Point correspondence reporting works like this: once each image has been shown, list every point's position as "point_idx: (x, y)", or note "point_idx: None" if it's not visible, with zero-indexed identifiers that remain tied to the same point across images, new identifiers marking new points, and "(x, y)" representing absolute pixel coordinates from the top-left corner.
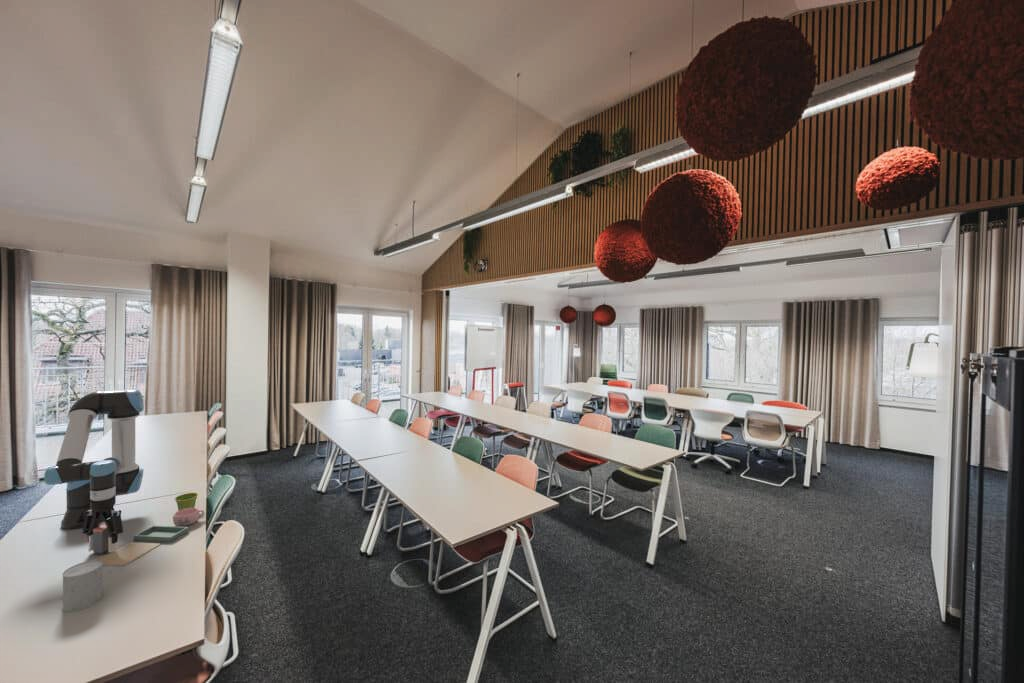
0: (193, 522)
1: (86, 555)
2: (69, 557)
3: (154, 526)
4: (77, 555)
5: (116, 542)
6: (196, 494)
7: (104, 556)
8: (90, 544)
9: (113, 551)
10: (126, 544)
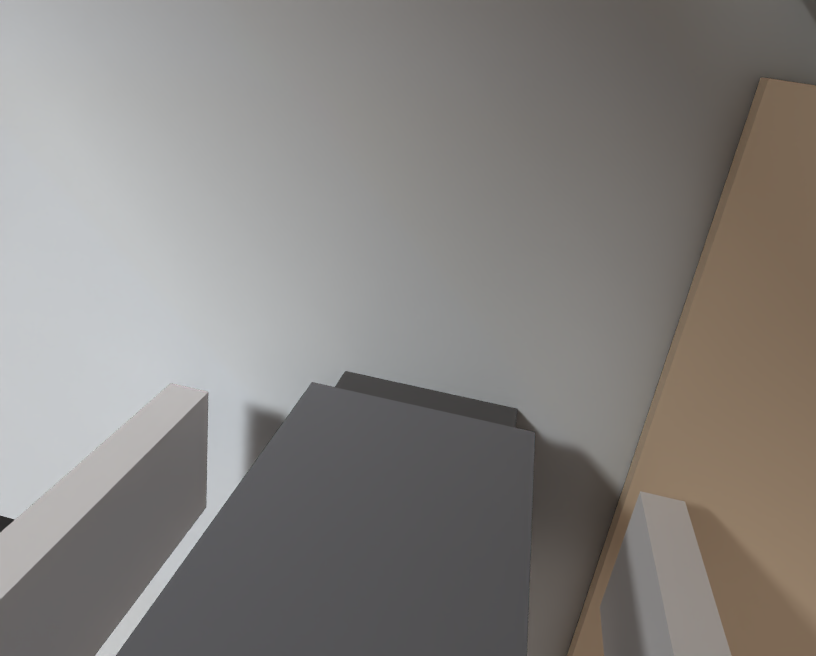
0: None
1: (208, 500)
2: (10, 510)
3: None
4: (64, 473)
5: (723, 643)
6: None
7: (587, 642)
8: (120, 617)
9: (630, 499)
10: (732, 221)
